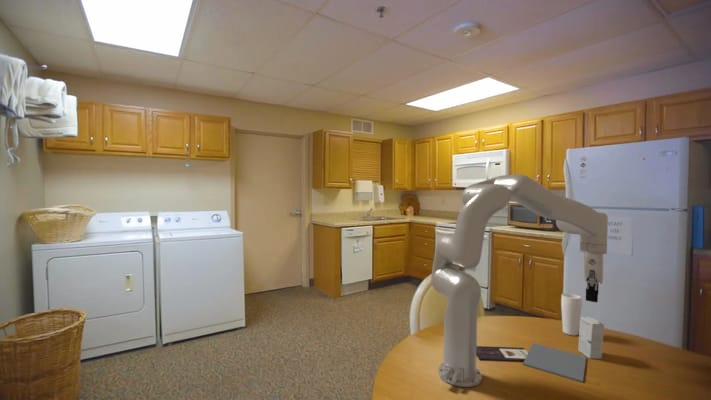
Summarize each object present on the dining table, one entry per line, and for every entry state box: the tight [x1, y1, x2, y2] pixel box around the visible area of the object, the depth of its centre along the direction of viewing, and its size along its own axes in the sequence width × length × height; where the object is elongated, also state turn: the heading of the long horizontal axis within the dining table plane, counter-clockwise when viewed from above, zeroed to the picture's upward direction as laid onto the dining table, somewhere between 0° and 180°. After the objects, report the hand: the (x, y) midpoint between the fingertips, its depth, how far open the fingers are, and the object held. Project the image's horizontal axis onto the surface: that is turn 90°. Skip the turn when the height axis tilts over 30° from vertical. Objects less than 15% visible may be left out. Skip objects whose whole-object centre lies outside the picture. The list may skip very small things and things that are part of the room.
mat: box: [522, 342, 587, 383], centre depth 108 cm, size 18×16×1 cm
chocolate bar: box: [476, 345, 529, 363], centre depth 113 cm, size 9×1×18 cm
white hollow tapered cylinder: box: [560, 293, 583, 337], centre depth 130 cm, size 7×7×15 cm
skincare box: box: [577, 316, 605, 360], centre depth 113 cm, size 6×4×12 cm
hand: (592, 297), depth 113 cm, fingers open, 9 cm apart
